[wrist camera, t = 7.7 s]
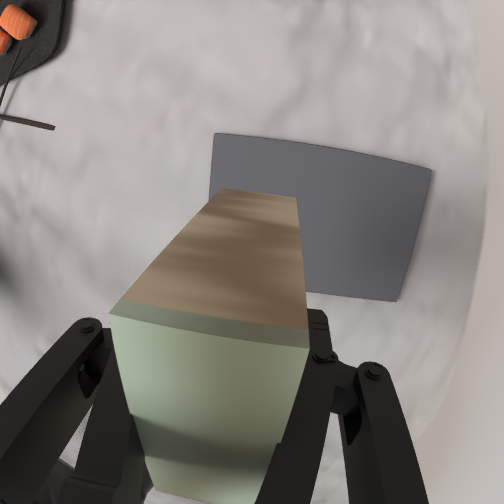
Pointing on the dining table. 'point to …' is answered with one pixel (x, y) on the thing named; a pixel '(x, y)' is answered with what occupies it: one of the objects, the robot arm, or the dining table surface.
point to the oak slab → (216, 347)
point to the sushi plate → (27, 40)
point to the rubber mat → (334, 208)
